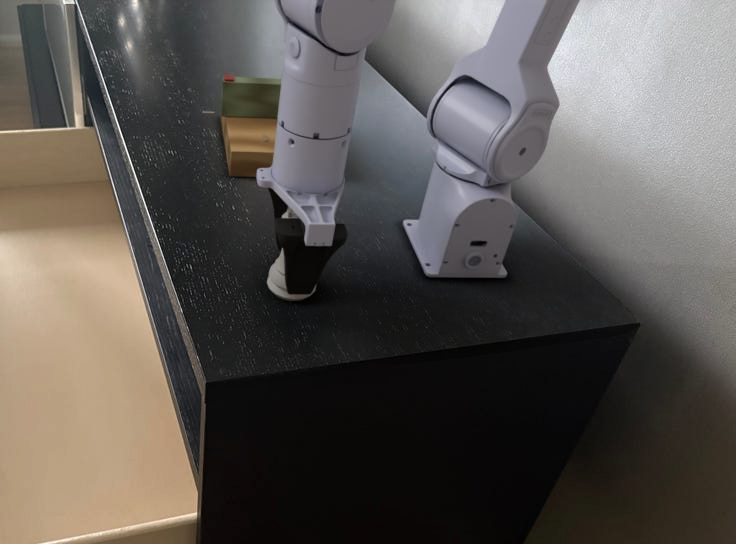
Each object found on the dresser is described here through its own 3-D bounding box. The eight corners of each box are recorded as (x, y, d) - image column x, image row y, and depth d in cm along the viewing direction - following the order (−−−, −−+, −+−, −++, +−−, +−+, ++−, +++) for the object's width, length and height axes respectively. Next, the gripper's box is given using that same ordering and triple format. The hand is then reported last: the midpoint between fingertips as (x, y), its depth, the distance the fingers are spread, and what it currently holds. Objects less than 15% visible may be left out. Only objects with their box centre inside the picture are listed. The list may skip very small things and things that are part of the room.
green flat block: (297, 113, 88) (301, 77, 85) (299, 119, 87) (303, 83, 84) (220, 110, 87) (222, 73, 84) (221, 116, 86) (223, 79, 83)
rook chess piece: (325, 289, 68) (340, 212, 63) (293, 309, 65) (305, 231, 60) (288, 267, 70) (299, 190, 65) (255, 286, 67) (264, 208, 62)
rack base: (337, 179, 83) (342, 153, 81) (205, 176, 82) (206, 148, 79) (315, 117, 95) (318, 93, 93) (198, 113, 93) (199, 88, 91)
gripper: (252, 82, 62) (241, 224, 71) (274, 167, 51) (257, 322, 61) (336, 85, 63) (314, 225, 72) (374, 170, 52) (343, 322, 61)
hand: (293, 269), depth 66 cm, fingers open, 6 cm apart
